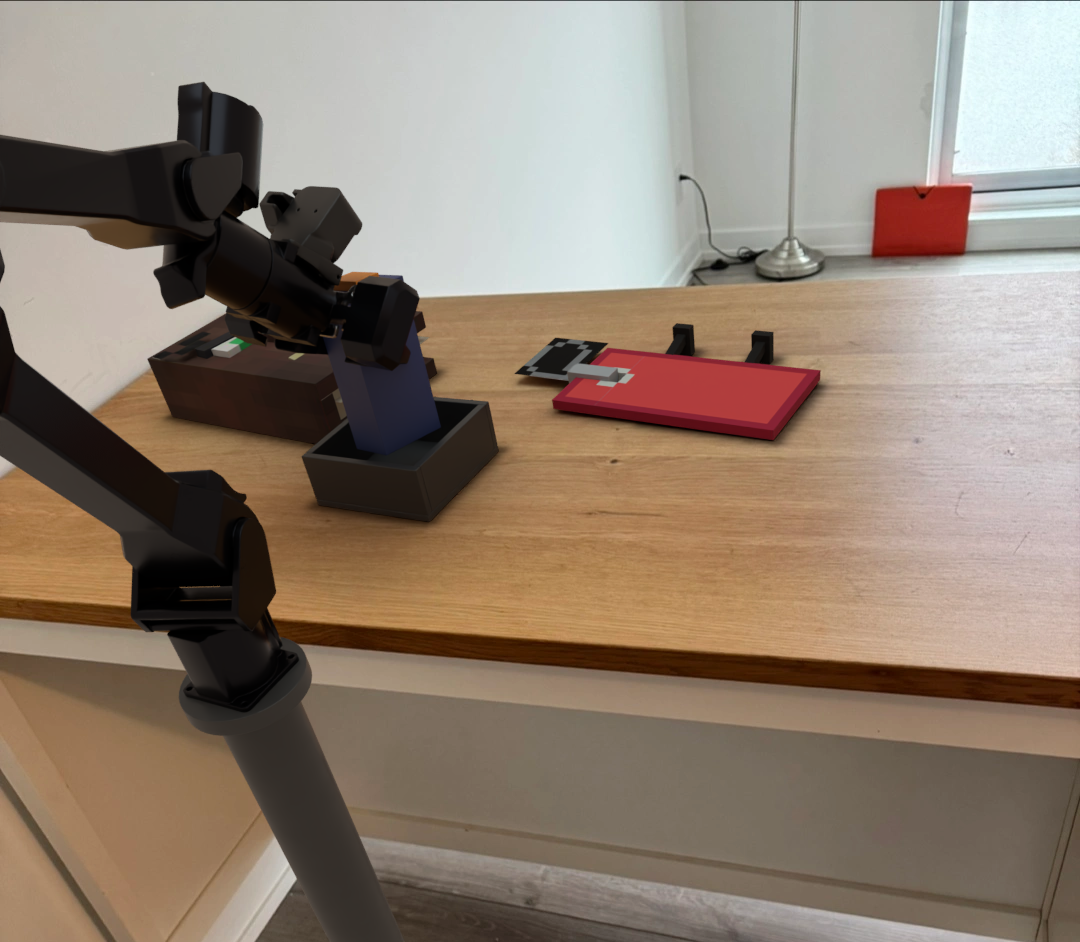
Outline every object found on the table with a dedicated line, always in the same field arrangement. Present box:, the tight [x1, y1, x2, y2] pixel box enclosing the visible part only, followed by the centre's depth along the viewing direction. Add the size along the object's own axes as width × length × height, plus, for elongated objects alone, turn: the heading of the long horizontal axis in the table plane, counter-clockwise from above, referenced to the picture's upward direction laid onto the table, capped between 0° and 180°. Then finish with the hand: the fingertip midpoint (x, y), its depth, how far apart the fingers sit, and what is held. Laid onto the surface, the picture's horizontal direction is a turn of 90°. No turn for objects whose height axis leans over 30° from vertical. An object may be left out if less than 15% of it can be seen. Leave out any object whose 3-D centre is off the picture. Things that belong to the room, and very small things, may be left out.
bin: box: [300, 396, 500, 523], centre depth 92 cm, size 12×12×5 cm
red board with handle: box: [513, 322, 822, 441], centre depth 99 cm, size 30×3×15 cm
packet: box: [323, 271, 441, 455], centre depth 87 cm, size 6×4×14 cm
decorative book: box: [147, 310, 438, 445], centre depth 110 cm, size 19×8×30 cm
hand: (388, 354), depth 87 cm, fingers closed on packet, 4 cm apart
